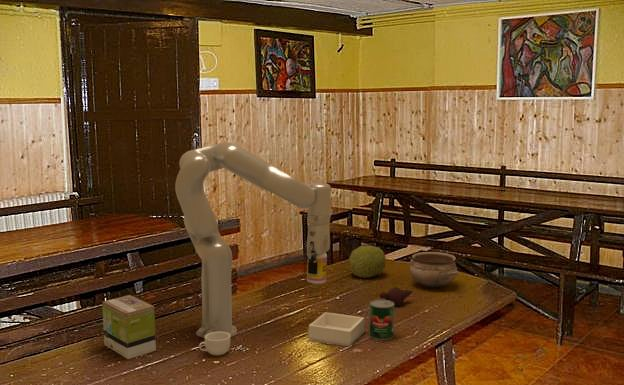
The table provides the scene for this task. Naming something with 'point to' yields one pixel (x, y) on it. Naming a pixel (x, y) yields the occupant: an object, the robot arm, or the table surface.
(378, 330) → the canned tomato
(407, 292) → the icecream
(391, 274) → the table surface
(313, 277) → the supplement bottle
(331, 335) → the tub
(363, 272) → the fruit
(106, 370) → the table surface
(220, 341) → the teacup
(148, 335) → the tea box
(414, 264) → the cooking pot
